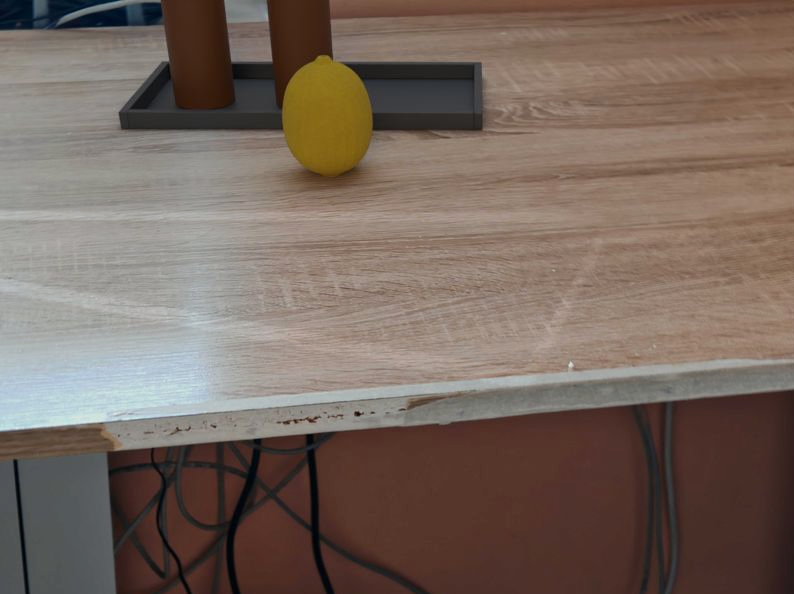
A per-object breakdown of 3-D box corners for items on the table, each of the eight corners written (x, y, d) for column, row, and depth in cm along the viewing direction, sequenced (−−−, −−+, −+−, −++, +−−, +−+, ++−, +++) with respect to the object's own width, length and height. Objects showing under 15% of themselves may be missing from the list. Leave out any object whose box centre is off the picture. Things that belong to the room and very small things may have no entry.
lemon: (272, 191, 67) (260, 64, 63) (311, 160, 72) (301, 39, 68) (354, 202, 66) (346, 73, 62) (388, 170, 70) (383, 47, 66)
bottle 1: (168, 110, 79) (141, -76, 72) (182, 91, 82) (158, -88, 76) (229, 110, 79) (207, -76, 72) (240, 91, 82) (220, -88, 76)
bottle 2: (271, 110, 79) (253, -76, 72) (281, 91, 82) (264, -88, 76) (332, 110, 79) (319, -76, 72) (338, 91, 82) (327, -87, 76)
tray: (122, 136, 76) (118, 112, 75) (165, 83, 86) (161, 61, 85) (482, 137, 76) (482, 112, 75) (481, 84, 86) (481, 61, 85)
